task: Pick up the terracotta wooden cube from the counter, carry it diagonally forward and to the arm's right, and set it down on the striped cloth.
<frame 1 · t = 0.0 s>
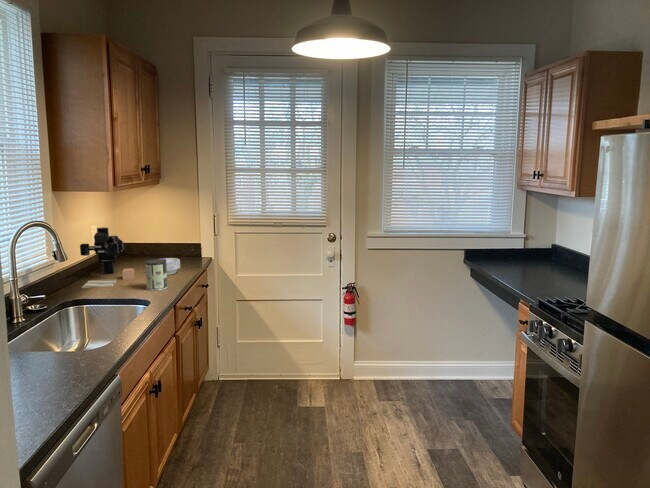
hand: (95, 251, 269), 17 cm above the worktop, tool horizontal, fingers open, 9 cm apart
coffee can: (157, 288, 262), on the worktop
striped cloth: (100, 284, 269), on the worktop
terracotta cube: (128, 278, 283), on the worktop
paper bowls: (166, 273, 295), on the worktop
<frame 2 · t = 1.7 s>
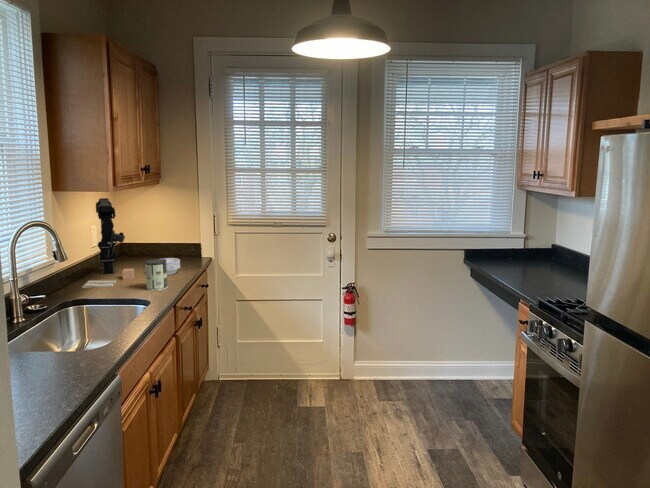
hand: (109, 257, 277), 12 cm above the worktop, tool pointing down, fingers open, 9 cm apart
nothing on the worktop moved.
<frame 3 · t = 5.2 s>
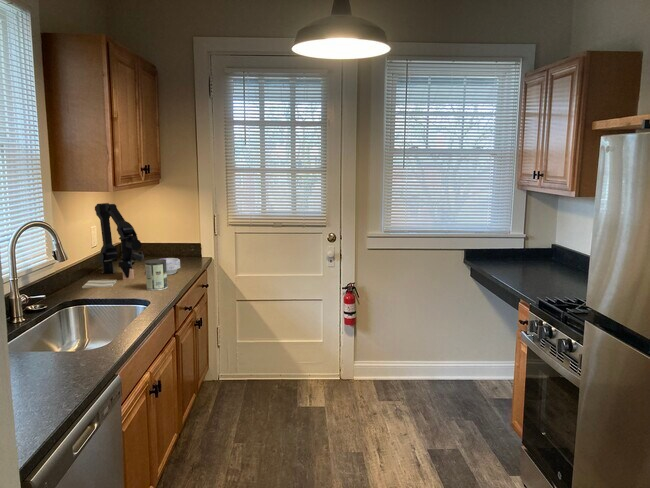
hand: (128, 276, 282), 1 cm above the worktop, tool pointing down, fingers closed on terracotta cube, 5 cm apart
terracotta cube: (128, 278, 283), on the worktop, touching gripper
everything else where it was.
when the fingers open (3 cm above the worktop, at t = 10.9 s): terracotta cube drops 1 cm, resting on striped cloth.
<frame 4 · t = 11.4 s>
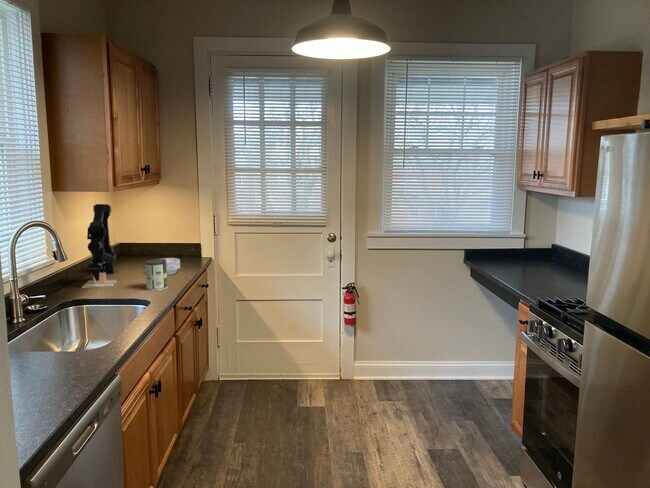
hand: (99, 278, 268), 3 cm above the worktop, tool pointing down, fingers open, 9 cm apart
terracotta cube: (100, 282, 269), point 1 cm above the worktop, touching striped cloth
everything else where it was.
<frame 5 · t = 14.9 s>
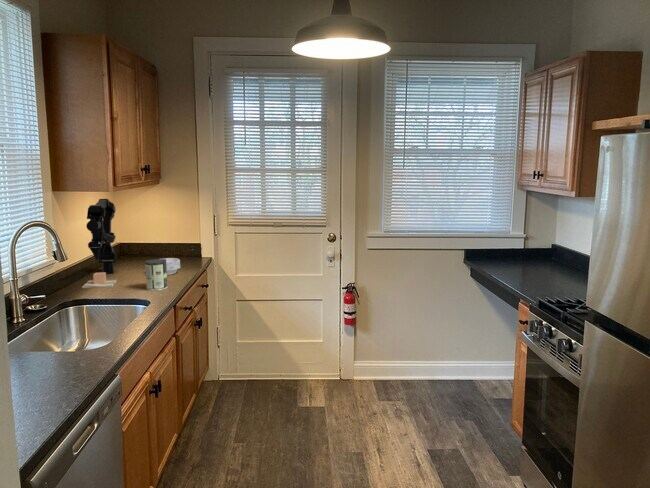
hand: (99, 257, 277), 12 cm above the worktop, tool pointing down, fingers open, 9 cm apart
nothing on the worktop moved.
at the end: terracotta cube inside the target area on the striped cloth (0.1 cm from its centre), point 0.8 cm above the striped cloth's base; terracotta cube tilted 0°; the gripper is holding nothing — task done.
